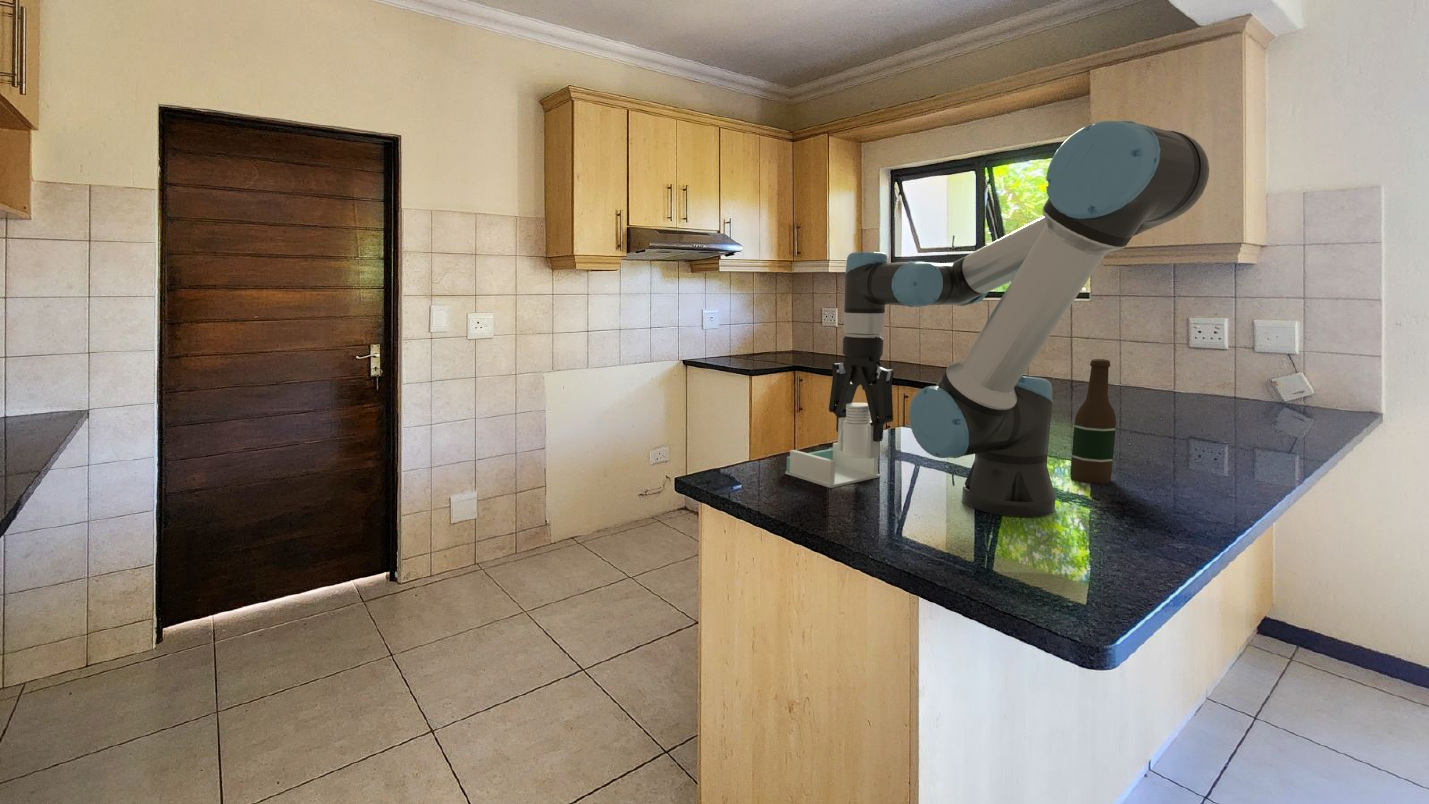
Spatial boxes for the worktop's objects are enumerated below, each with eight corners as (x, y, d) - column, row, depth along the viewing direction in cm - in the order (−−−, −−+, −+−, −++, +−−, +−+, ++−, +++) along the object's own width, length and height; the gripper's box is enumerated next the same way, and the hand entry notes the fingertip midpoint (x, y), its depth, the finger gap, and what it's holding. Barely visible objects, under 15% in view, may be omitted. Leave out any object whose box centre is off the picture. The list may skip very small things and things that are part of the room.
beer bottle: (1101, 474, 145) (1112, 358, 141) (1119, 485, 137) (1131, 361, 133) (1062, 473, 145) (1071, 357, 142) (1077, 483, 138) (1088, 361, 134)
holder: (880, 476, 143) (881, 452, 142) (830, 488, 134) (831, 462, 134) (833, 464, 153) (834, 441, 152) (785, 473, 145) (785, 449, 144)
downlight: (876, 450, 141) (877, 401, 139) (881, 459, 134) (881, 407, 132) (836, 451, 141) (835, 401, 140) (838, 459, 135) (838, 408, 133)
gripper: (918, 338, 128) (911, 461, 132) (839, 331, 144) (834, 441, 148) (891, 340, 123) (884, 467, 127) (812, 332, 139) (808, 446, 143)
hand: (858, 453), depth 137 cm, fingers closed on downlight, 7 cm apart
